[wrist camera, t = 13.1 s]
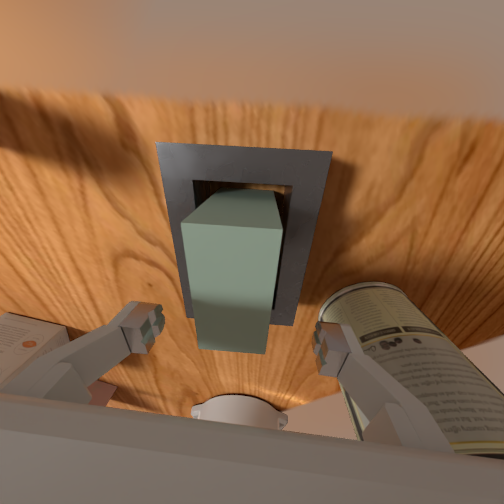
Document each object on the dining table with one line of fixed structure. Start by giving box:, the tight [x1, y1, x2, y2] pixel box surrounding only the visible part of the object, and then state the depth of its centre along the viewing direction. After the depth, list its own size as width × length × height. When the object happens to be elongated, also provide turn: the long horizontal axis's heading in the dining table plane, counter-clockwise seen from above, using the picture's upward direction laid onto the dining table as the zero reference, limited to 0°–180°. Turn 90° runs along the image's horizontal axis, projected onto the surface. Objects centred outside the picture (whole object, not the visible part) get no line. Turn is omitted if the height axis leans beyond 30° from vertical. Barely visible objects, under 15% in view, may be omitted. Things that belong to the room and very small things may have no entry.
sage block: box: [181, 187, 283, 354], centre depth 14 cm, size 4×9×9 cm, turn 177°
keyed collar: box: [156, 142, 333, 326], centre depth 16 cm, size 15×10×4 cm
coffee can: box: [318, 282, 504, 460], centre depth 16 cm, size 10×10×14 cm
